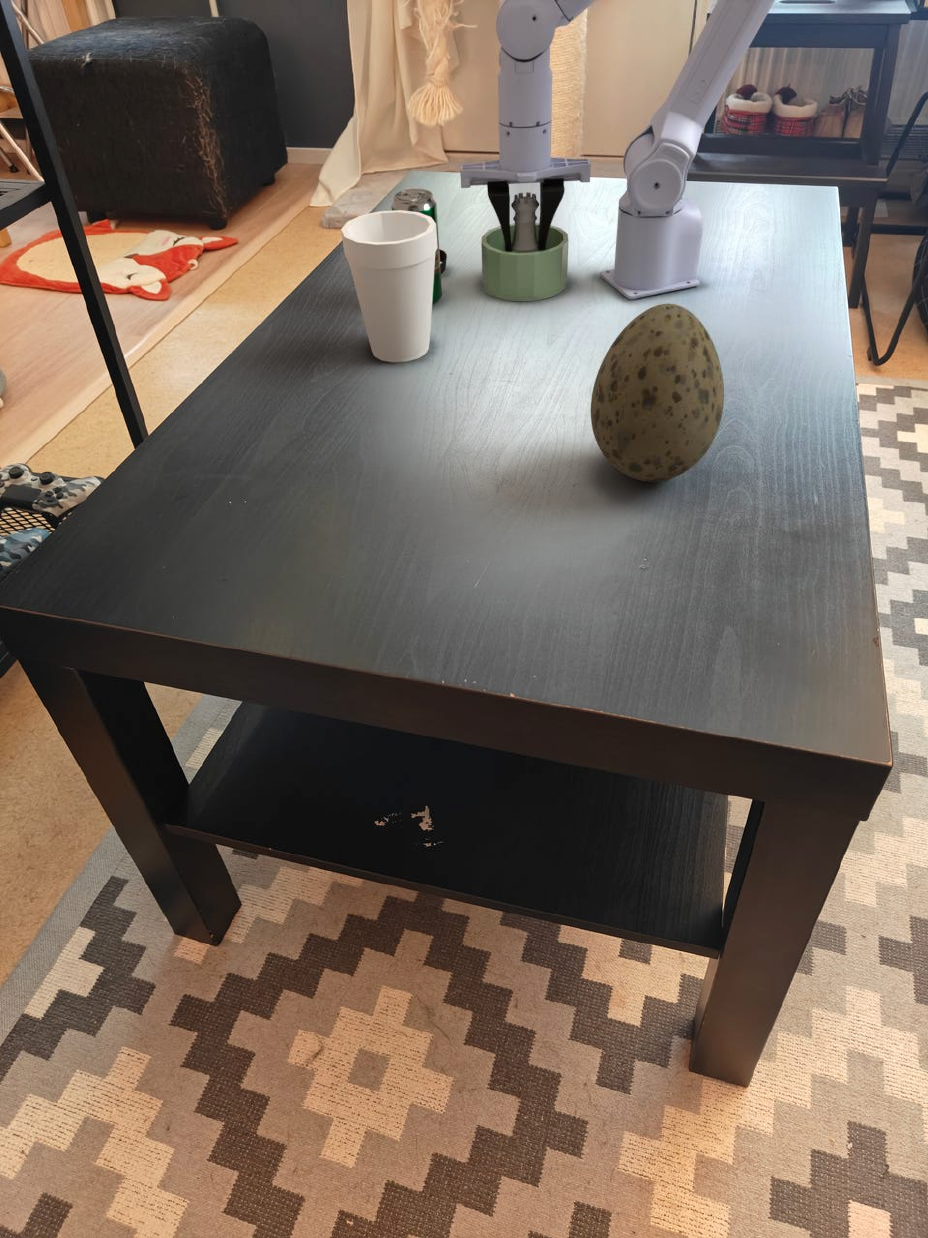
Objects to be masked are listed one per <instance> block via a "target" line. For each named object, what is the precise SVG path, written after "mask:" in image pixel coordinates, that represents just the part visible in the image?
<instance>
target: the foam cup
mask: <svg viewBox="0 0 928 1238" xmlns="http://www.w3.org/2000/svg"><path fill="white" fill-rule="evenodd" d="M340 233H341V239H342V246H343V253H344V256H345V258H346V260H347V262H348V266H349V269H350V273H351V276H352V281H353V284H354V289H355V292H356V296H357V300H358V304H359V308H360V311H361V312H360V313H361V315H362V319H363V322H364V326H365V330H366V331H365V332H366V335H367V338H368V342H369V345H370V348H371V349H370V350H371V353H372V355H373V357H375V358H376V359H378V360H380V361H383V362H388V363H406V362H410V361H411V362H412V361H414V360H418V359H420V358H421V357H424V355H426V354H427V353H428V351H429V349H430V342H431V333H432V332H431V328H432V314H433V313H432V312H433V305H432V299H433V282H434V266H435V252H436V250H437V248H438V247H437V231H436V223H435V222H434V220H433V219H432V217H430V216H427V215H424V214H422V213H419V212H412V211H403V210H395V211H392V210H379V211H375V212H370V213H366V214H361V215H359V216H357V217H355V218H353V219H350V220H347V222H346V223H344V225H343V226H342V228H341V229H340Z"/></svg>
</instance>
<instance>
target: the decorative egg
mask: <svg viewBox="0 0 928 1238" xmlns="http://www.w3.org/2000/svg"><path fill="white" fill-rule="evenodd" d="M723 376H724V375H723V369H722V365H721V361H720V358H719V354H718V352H717V349H716V346H715V343H714V341H713V339H712V337H711V335H710V334H709V332H708V330H707V328H706V327H705V326H704V324H703V323H702V322H701V320H700V319H699V318H698V317H697V316H696V315H695V314H694V313H693V312H691V311H690V310H689V309H687V308H686V307H684V306H681V305H679V304H675V303H660V304H657V305H654V306H652V307H650V308H648V309H645V310H644V311H643V312H641V313H640V314H638V315H637V316H636V317H635V318H633V319H632V320H631V321H630V322H629V323H628V324H627V325H626V326H625V327H624V328H623V329H622V330H621V331H620V333H619V334H618V335H617V336H616V338H615V339H614V341H613V342H612V343H611V346H610V347H609V349H608V350H607V352H606V354H605V356H604V358H603V360H602V361H601V364H600V367H599V368H598V372H597V375H596V377H595V380H594V383H593V388H592V392H591V398H590V399H591V401H590V422H591V428H592V433H593V436H594V440H595V442H596V444H597V447H598V449H599V450H600V452H601V453H602V455H603V456H604V458H606V461H608V463H610V465H612V467H614V468H615V469H616V470H617V471H618V472H620V473H622V474H623V475H625V476H627V477H629V478H631V479H634V480H638V481H643V482H650V483H651V482H652V483H653V482H655V483H656V482H662V481H667V480H670V479H673V478H674V479H675V478H676V477H678V476H680V475H682V474H684V473H685V472H687V471H688V470H691V468H692V467H694V466H695V465H696V464H697V463H698V462H699V461H701V459H702V458H703V457H704V456H705V455H706V453H707V452H708V451H709V449H710V448H711V446H712V444H713V443H714V441H715V439H716V437H717V434H718V431H719V429H720V427H721V422H722V417H723V414H724V413H723V412H724V403H725V385H724V377H723Z"/></svg>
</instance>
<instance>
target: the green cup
mask: <svg viewBox="0 0 928 1238" xmlns="http://www.w3.org/2000/svg"><path fill="white" fill-rule="evenodd" d="M535 228H536V237H537V242H538V233H539V222H535ZM514 230H515V222H514V223H510V233H511V244H512V242H513V238H514ZM480 243H481V273H482V274H481V275H482V279H481V280H482V287H483V290H484V291H485V292H486V293H487V294H489V295H490V296H491V297H494V298H497V299H500V300H504V301H510V302H534V301H535V302H536V301H541V300H545V299H549V298H553V297H554V296H557V295H559V294H560V293H562V291H564V290H565V288H566V286H567V282H568V268H569V267H568V266H569V234H568V233H567V232H566V231H565V230H563V229H562V228H560V227H558V226H554V225H552V224H551V225H550V229H549V232H548V236H547V241H546V247H545V250H542V251H540V252H534V253H512V252H508V251H507V252H506V251H505V241H504V236H503V233H502V229H501V226H500V225H499V226H496V227H494V228H491V229H488V230H487V231H486V232H485V233H484V234H483V235H481V241H480Z"/></svg>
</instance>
